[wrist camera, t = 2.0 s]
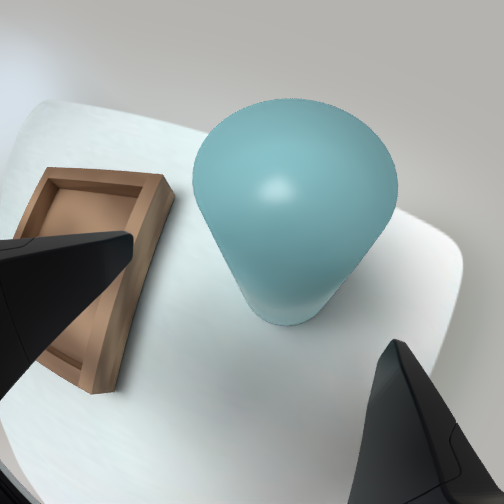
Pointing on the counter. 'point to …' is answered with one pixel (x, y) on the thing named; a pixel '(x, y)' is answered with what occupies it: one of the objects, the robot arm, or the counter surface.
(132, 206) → the tray
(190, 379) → the counter surface
